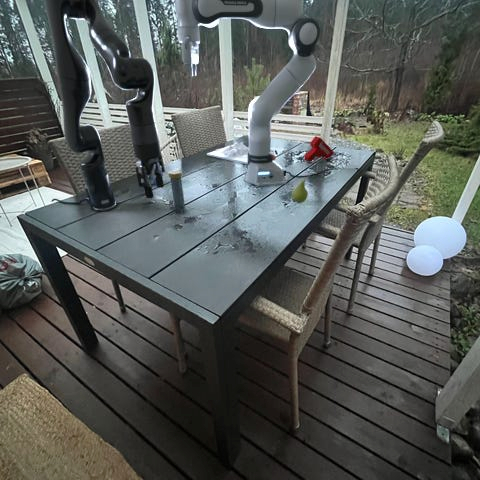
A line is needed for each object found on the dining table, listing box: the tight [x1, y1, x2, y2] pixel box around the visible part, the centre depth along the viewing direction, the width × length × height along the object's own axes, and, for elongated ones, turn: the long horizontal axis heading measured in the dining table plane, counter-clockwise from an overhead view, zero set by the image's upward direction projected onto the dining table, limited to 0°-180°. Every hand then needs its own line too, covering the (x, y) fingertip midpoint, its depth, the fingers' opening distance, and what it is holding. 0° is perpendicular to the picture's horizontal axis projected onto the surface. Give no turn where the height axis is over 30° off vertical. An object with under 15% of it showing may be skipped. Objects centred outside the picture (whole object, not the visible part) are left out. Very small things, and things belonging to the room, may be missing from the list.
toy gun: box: [303, 135, 335, 164], centre depth 171 cm, size 18×4×15 cm
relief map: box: [206, 141, 272, 165], centre depth 185 cm, size 27×35×5 cm
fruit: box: [291, 174, 311, 204], centre depth 118 cm, size 7×8×12 cm
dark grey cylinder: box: [169, 176, 186, 215], centre depth 110 cm, size 4×4×17 cm
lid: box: [167, 169, 183, 179], centre depth 105 cm, size 5×5×2 cm
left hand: (155, 192), depth 87 cm, fingers open, 8 cm apart
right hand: (192, 76), depth 120 cm, fingers open, 8 cm apart
